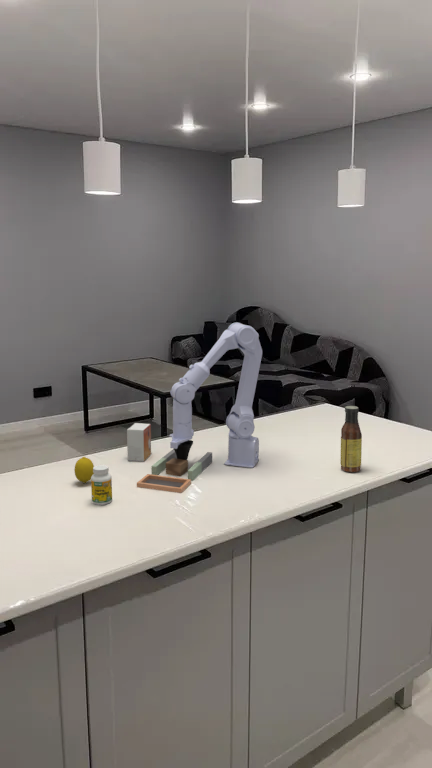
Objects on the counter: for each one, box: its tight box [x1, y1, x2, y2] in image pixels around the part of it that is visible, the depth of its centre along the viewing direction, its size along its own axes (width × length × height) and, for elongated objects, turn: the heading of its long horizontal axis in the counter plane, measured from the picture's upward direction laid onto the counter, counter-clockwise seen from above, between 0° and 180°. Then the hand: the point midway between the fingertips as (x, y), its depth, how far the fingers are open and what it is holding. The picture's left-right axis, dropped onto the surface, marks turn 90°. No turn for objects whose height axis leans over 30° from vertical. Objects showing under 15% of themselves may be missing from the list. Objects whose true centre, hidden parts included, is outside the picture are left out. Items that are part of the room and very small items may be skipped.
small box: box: [126, 422, 152, 462], centre depth 195 cm, size 8×6×10 cm
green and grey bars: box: [150, 448, 213, 482], centre depth 186 cm, size 13×18×3 cm
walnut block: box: [165, 458, 189, 478], centre depth 182 cm, size 5×5×4 cm
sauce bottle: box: [340, 405, 363, 473], centre depth 184 cm, size 6×6×20 cm
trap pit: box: [136, 473, 192, 494], centre depth 172 cm, size 14×8×1 cm, turn 72°
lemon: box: [73, 456, 95, 484], centre depth 173 cm, size 6×6×8 cm
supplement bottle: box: [90, 464, 113, 506], centre depth 160 cm, size 5×5×10 cm
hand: (182, 464), depth 186 cm, fingers closed
